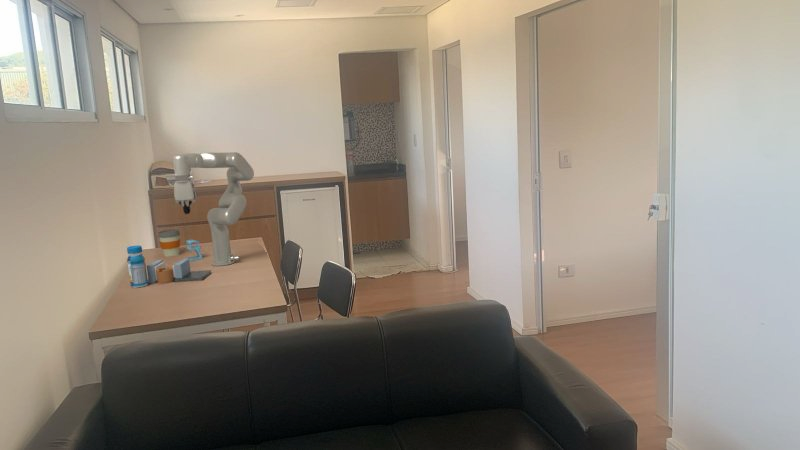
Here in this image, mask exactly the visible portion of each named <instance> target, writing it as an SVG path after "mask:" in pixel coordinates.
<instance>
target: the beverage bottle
mask: <svg viewBox="0 0 800 450" xmlns="http://www.w3.org/2000/svg"><path fill="white" fill-rule="evenodd" d="M126 251H127V254H128V257H127V259H126V263H127V269H128V275H129V276H128V277H129V283H130V287H131V288H132V289H135V288H144V287H146V286H148V285H149V280H148V272H147V263H146V262H145V260H146V258H145V256H144V255H143V254H142V253H143V247H142V245H138V244H137V245H132V246H130V245H129V246H127V247H126Z"/></svg>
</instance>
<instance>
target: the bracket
mask: <svg viewBox="0 0 800 450" xmlns="http://www.w3.org/2000/svg"><path fill="white" fill-rule="evenodd" d="M156 276H157V282H156V283H157V284H158V285H166V284H171V283H175V279H176V278H175V277H174V274H173V266H167V267H166V266H165V267H164V268H159V269H156Z"/></svg>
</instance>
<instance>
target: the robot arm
mask: <svg viewBox="0 0 800 450" xmlns="http://www.w3.org/2000/svg"><path fill="white" fill-rule="evenodd" d="M172 163H173V169H174V170H173V171H174V179H175V181H174V184H173V196H174V199H175V200H174V202H175V204H179V205H180V206H182V210H183V213H184V215H189V214H190V213H191V207H190V206H191V205H192V203H196V202H197V199H196V198H197V192H196V188H195V184H194V180H192V179H194V176H193V175H191V171H190V168H191V169H192V168H193V169H195V168H200V169H226V168H227V170H226V178H227V188H226V190H225V191H224V192H223V194H222V195H221V196H220V198H219V201H218V207H214V208H210V209H209V211H208V212H207V215H206V217H207V222H208V225H209V227H210V233H211V234H210V235H211V242H212V243H211V245H212V252H213V260H214V261H212V262H211V265H212V266H215V267H219V266H229V265H231V264H234V263H235V262H236V261H237V260H240V256H238V255H235V256H234V254H233V253H232V249H231V240H230V231H229V229H228V226H234V225H236V223H237V222H238V220H240V217H241V216H242V214H243V213H244V212H245V210H246V207H247V198H246V196H245V195H244V194H242V193H243V188H242V185H241V182H248V181H252V180H253V178H254V176H255V172H254V171H255V170H254V168H253V166H251V164H250V163H249V162H248V161H247V159H246V158H245V157H244V155H242V154H240V152H236V151H235V152H234V151H233V152H203V153H195V152H194V153H181V154H177V155H173V156H172Z"/></svg>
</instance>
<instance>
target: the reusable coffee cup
mask: <svg viewBox="0 0 800 450" xmlns="http://www.w3.org/2000/svg"><path fill="white" fill-rule="evenodd" d="M180 235H181V232H180V229H167V230H161V231H158V232H157V237H158V238H159V245H160V249H161V250H162V253H163V257H166V258H170V257H171V258H172V257H177V256H179V255H180V247H181V239H180Z"/></svg>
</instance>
